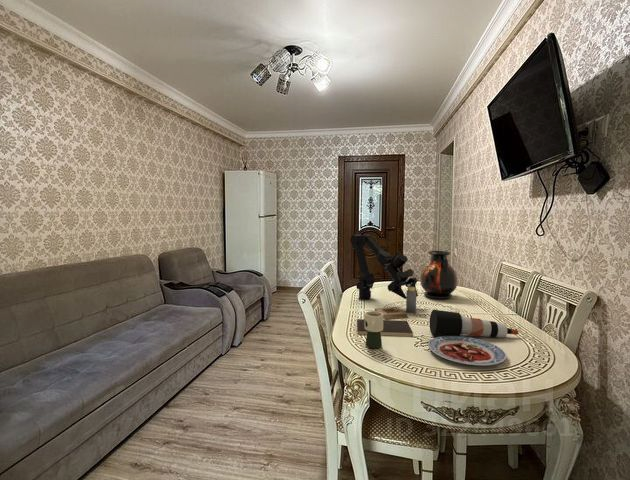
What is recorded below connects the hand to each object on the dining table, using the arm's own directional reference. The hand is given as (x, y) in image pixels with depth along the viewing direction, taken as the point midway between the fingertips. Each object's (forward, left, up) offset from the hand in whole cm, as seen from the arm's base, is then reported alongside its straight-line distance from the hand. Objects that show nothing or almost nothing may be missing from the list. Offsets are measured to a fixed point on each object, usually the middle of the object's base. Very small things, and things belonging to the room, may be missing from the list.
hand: (411, 297), depth 173 cm
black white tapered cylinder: (+25, -29, -8) cm, 39 cm away
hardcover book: (-12, -30, -8) cm, 33 cm away
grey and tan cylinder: (0, 0, -8) cm, 8 cm away
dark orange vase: (+16, +36, -8) cm, 40 cm away
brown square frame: (-10, -8, -8) cm, 15 cm away
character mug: (-14, -51, -8) cm, 53 cm away
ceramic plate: (+19, -49, -8) cm, 53 cm away
